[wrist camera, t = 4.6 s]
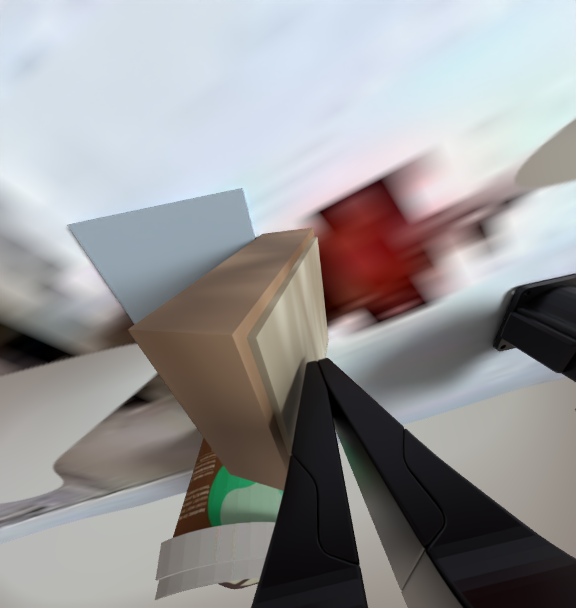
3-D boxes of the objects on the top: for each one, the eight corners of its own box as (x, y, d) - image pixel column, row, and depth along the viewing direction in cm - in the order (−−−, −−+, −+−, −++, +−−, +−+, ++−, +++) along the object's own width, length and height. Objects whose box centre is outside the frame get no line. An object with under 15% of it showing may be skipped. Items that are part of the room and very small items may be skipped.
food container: (319, 438, 24) (354, 581, 15) (277, 460, 25) (286, 604, 17) (245, 385, 18) (232, 563, 10) (195, 417, 20) (145, 600, 11)
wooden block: (317, 226, 11) (242, 335, 4) (329, 340, 15) (302, 496, 8) (263, 233, 12) (127, 329, 5) (287, 338, 16) (229, 474, 9)
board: (242, 188, 11) (241, 188, 11) (286, 362, 18) (287, 366, 17) (73, 223, 11) (67, 224, 11) (181, 386, 17) (179, 390, 17)
